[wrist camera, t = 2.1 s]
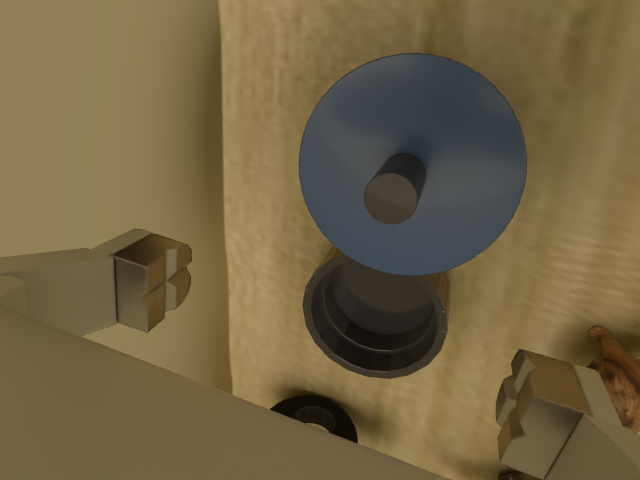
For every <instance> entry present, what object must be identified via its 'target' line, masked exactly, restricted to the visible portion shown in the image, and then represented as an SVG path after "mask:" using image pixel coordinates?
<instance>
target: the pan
mask: <svg viewBox="0 0 640 480" xmlns="http://www.w3.org/2000/svg"><path fill="white" fill-rule="evenodd" d="M449 304H450V296H449V281H448V279H447V277H446V274H445V272H444V271H442V272H438V273H433V274H426V275H398V274H391V273H386V272H382V271H378V270H375V269H373V268H370V267H367V266H365V265H363V264H361V263H359V262H357V261H355V260H353V259H352V258H350V257H349V256H347V255H346V254H344V253H343V252H342V251H340V250H339V249H338V248H337V247H335V246H334V247H333V248H332V249H331V250H330V251H329V253H328V254H327V256H326V257H325V258H324V260H323V261H322V263H321V264H320V265H319V267H318V268H317V269H316V271H315V272H314V274H313V276H312V277H311V279H310V281H309V282H308V284H307V286H306V288H305V294H304V300H303V312H304V317H305V323H306V327H307V328H308V330H309V332H310V334H311V336H312V338H313V340H314V342H315V343H316V344H317V346H318V347H319V348H320V349H321V350H322V351H323V352H324V353H325V354H326V355H327V356H328V357H329V358H330V359H332V360H333V361H335V362H336V363H338V364H339V365H341V366H342V367H344V368H345V369H347V370H350V371H353V372H355V373H358V374H361V375H364V376H368V377H377V378H389V379H390V378H396V377H401V376H407V375H410V374H412V373H414V372H416V371H418V370H420V369H422V368H423V367H425V366H427V365H428V364H429V363H430V362H431V361H432V360H433V359H434V358H435V356H436V355H437V354H438V353H439V352H440V350H441V349H442V346H443V343H444V340H445V338H446V335H447V331H448V318H449Z"/></svg>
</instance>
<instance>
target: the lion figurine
mask: <svg viewBox="0 0 640 480" xmlns="http://www.w3.org/2000/svg"><path fill="white" fill-rule="evenodd" d="M589 336H590V339H591V340H593V341H598V342H599V343H600V344H602V346H601V347H602V353H603V355H604V356H603V357H602V358H601V359H596V360H593V361H592V362H591V363H590V365H587V366H586V368H590V369H594V370H596V371H597V372H598V373H599V374H600V376H601V379H602V381H603V383H604V385H605V388H606V390H607V392H608V394H609V397H610V399H611V401H612V403H613V406H614V408H615V410H616V412H617V415H618V417H619V419H620V421H621V424H622V426H623V427H626V428H629V429H632V430H633V431H634V432H635V433H636V434H637V432H639V431H640V359H638V360H636V359H635V358H634V357H632V356H631V355H629V354H628V353H627V352H625V351H624V350H623V349H622V348H621V346H620V345H619V344H618V343H617V341H616V340H615V338H614V337H613V336H612V334H611V333H610V332H609V331H608V330H606V329H604V328H603V327H600V326H594V327H593V328H591V329H590V331H589Z"/></svg>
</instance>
